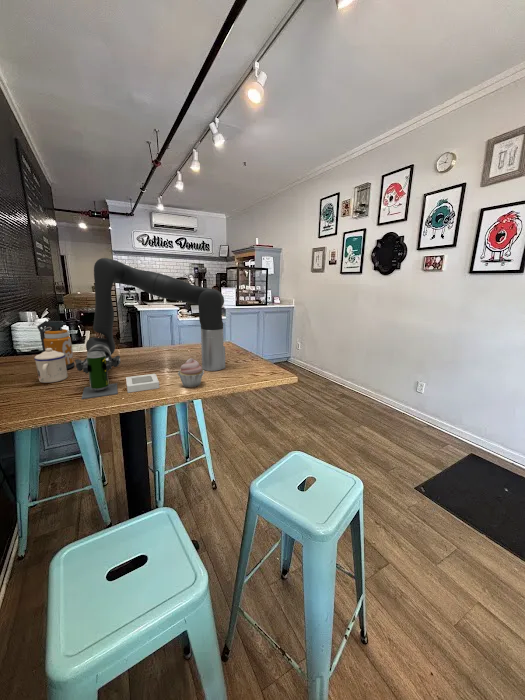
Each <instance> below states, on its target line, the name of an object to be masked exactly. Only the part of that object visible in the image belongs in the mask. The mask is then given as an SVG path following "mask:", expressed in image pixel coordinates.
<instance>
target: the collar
mask: <svg viewBox="0 0 525 700" xmlns="http://www.w3.org/2000/svg"><path fill="white" fill-rule="evenodd" d="M125 380H126V382H125V383H126V389H127V393H135V392H142V391H150V390H155V389H156V390H157V389H160V381H159V379H158V377H157V374H156V373H151V374H144V375H143V374H142V375H132V376H126V377H125Z"/></svg>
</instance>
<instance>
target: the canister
mask: <svg viewBox="0 0 525 700" xmlns="http://www.w3.org/2000/svg"><path fill="white" fill-rule="evenodd" d="M66 325H67V322H65V321H63V320H58V321H57V320H51V319H49V320H45V321H43V322H42V323H40V324H38V325H37V326H36V327H37V329H38V331H39V336H40V341H41V346H42V352H45V351H46V349H47V348H52V350H53V351H57V352H62V353H64V354H65V362H66V369H67V370H69V369H71V368H73V367H74V366H75V360H74V359H75V358H74V352H73V346H72V345H73V344H72V338H71V336H70V335H69V331H68V330H67V329H66V328H65V329H64V326H66Z"/></svg>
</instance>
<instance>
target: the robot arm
mask: <svg viewBox="0 0 525 700" xmlns="http://www.w3.org/2000/svg"><path fill="white" fill-rule="evenodd" d="M93 279H94V281H93V282H94V296H95V297H94V299H95V303H94V304H95V307H94V308H95V309H94V317H93V318H94V319H93V325H92V327H93V331H94V332H96V333H98V334H101V335H103V336H104V337H106V338H103V337H96V336H95V337H90V338H88V339H87V340H86V343H85V344H86V345H85V349H86V352H87V353H89V352H93V351H104V352H105V355H106V368H107V371H108V372H109V371H110V370H112V368H117V367H118V366H119V365H120V364H121V356H120V355H116V356H114V357H112V355H113V354H114V352H115V350H116V345H115V339H114V335H113V329H114V320H115V311H114V305H113V301H112V290H113V284H121V285H125V286H126V285H127V286H132V287H135V288H137V289H139V290H141V291H143V292H145V293H148V294H149V295H152V296H155V297H158V298H162V299H166V300H171V301H178V302H185V303H186V302H187V303H191V304H193V305H194V304H195V305H197V306H198V319H199V324H200V342H201V344H200V345H201V346H200V347H201V367H202V370H204V371H207V372H208V371H209V372H216V371H221V370H223V369H226V346H224V322H223V312H222V311H223V310H222V309H223V306H224V303H225V298H224V297H225V296H224V295H223V294H222V292H221V291H219V290H218V289H215V288H209V287H202V286H198V285H195V284H191V283H189V282H187V281H184V280H181V279H179V278H176V277H174V276H173V277H172V276H169V275H167V274H163V273H161V272H156V271H150V270H143V269H139V268H136V267H132V266H131V265H128V264H125V263H122V262H121V261H118V260H116V259H112V258H108V257H107V258H106V257H102V258H99V259H97V260H96V262H95V263H94V265H93ZM74 364H75V367H76V369H77V372H83V373H85V374H89V371H88V365H87V357H85V359H84V360H81V359H79V358H76V359H75V360H74Z"/></svg>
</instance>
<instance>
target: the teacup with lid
mask: <svg viewBox="0 0 525 700" xmlns="http://www.w3.org/2000/svg"><path fill="white" fill-rule="evenodd" d="M34 361H35V367H36V371H37V377H38V380H39V382H40V383H56V382H61V381H64V380H66V379H67V378H68V369H66V362H65V354H64V353H62V352H57V351H53V350H52V348H47V349H46V351H45V352H43V351H42V352H41V353H39V354H37V355H35V356H34Z"/></svg>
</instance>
